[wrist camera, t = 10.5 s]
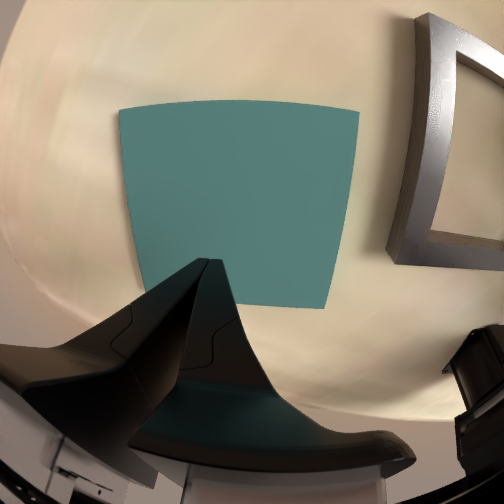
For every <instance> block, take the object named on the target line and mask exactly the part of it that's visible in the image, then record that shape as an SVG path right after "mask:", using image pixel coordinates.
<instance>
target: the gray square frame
mask: <svg viewBox="0 0 504 504" xmlns="http://www.w3.org/2000/svg"><path fill="white" fill-rule="evenodd" d="M415 33H416V75H415V94H414V106H413V117H412V126H411V134H410V141H409V148H408V154H407V160H406V166H405V171H404V177H403V182H402V187H401V191H400V196H399V201H398V205H397V209H396V213H395V217H394V221H393V225H392V229H391V233H390V236H389V240H388V243H387V247H386V251H387V252H388V254H389V256H390V257H391V259H392V261H393V262H394V264H398V265H414V266H430V267H445V268H461V269H478V270H494V271H504V242H503V241H497V240H491V239H485V238H479V237H473V236H467V235H461V234H454V233H447V232H440V231H433V230H430V228H431V225H432V221H433V218H434V214H435V211H436V207H437V203H438V200H439V196H440V192H441V187H442V183H443V178H444V174H445V169H446V164H447V158H448V153H449V147H450V140H451V133H452V125H453V116H454V105H455V90H456V60H457V61H459V62H461V63H463V64H465V65H467V66H468V67H470V68H472V69H474V70H476V71H478V72H479V73H481V74H483V75H484V76H486V77H488V78H489V79H491V80H493V81H494V82H496V83H497V84H499V85H500V86H502V87H503V88H504V55H502V54H501V53H499V52H498V51H497V50H495V49H494V48H492V47H491V46H489V45H488V44H486V43H485V42H483V41H482V40H480V39H478V38H477V37H475V36H473V35H472V34H470V33H468V32H467V31H465V30H463V29H461V28H460V27H458V26H456V25H454V24H452V23H450V22H448V21H446V20H444V19H442V18H440V17H438V16H436V15H434V14H431V13H429V12H428V13H426V14H424V15H421V16H419V17H417V18H415Z"/></svg>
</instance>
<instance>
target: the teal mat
mask: <svg viewBox="0 0 504 504" xmlns="http://www.w3.org/2000/svg"><path fill="white" fill-rule="evenodd" d="M119 122H120V138H121V151H122V162H123V171H124V179H125V187H126V195H127V202H128V208H129V214H130V220H131V226H132V232H133V237H134V242H135V247H136V252H137V257H138V261H139V266H140V270H141V274H142V279H143V283H144V287H145V291H146V292H147V291H149V290H150V289H152V288H153V287H155V286H156V285H158V284H159V283H161V282H162V281H164V280H165V279H167V278H168V277H170V276H171V275H173V274H174V273H176V272H177V271H179V270H180V269H182V268H183V267H185V266H186V265H188V264H189V263H191V262H192V261H194V260H195V259H197V258H209V259H212V258H213V259H222V260H223V262H224V266H225V269H226V273H227V276H228V280H229V283H230V286H231V290H232V293H233V297H234V300H235V303H236V304H248V305H262V306H277V307H294V308H314V309H324V307H325V304H326V300H327V296H328V292H329V288H330V284H331V280H332V276H333V272H334V267H335V263H336V259H337V254H338V249H339V245H340V240H341V235H342V230H343V225H344V220H345V214H346V209H347V203H348V197H349V191H350V185H351V178H352V172H353V165H354V157H355V149H356V141H357V132H358V123H359V112H357V111H351V110H345V109H339V108H333V107H325V106H318V105H309V104H300V103H288V102H274V101H249V100H217V101H193V102H178V103H167V104H158V105H149V106H142V107H135V108H128V109H122V110H119Z"/></svg>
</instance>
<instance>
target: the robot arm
mask: <svg viewBox="0 0 504 504" xmlns="http://www.w3.org/2000/svg"><path fill="white" fill-rule="evenodd" d="M474 332H475V333H474ZM472 333H474V334H473V335H472ZM445 370H447V371H445ZM451 372H453V374H454V377H455V379H456V382H457V384H458V387H459V390H460V392H461V395H462V398H463V401H464V404H465V407H466V410H467V411H465V412H464V413H462V414H461V415H458V416H457V417H455V418H454V419H455V433H456V445H457V459H458V461H459V462H460V464H461V466H462V468H463V469H464V470H465V473H466V477H464V478H462V479H460V480H458V481H456V482H453V483H451V484H449V485H447V486H445V487H442V488H440V489H437V490H434V491H432V492H429V493H427V494H424V495H421V496H418V497H415V498H412V499H409V500H406V501H402V502H399V503H396V504H504V325H496V326H489V327H487V328H480V329H474V330H472V331H471V332H470V333H469V335H468V336H467V338H466V339H465V341H464V342H463V344H462V345H461V347H460V348H459V349H458V351H457V352H456V353H455V355H454V356H453V358H452V359H451V360H450V362H449V363H448V364H447V365H446V367H445V368H444V369H443V370H442V374H446V373H451ZM416 459H417V458H416V456H415V454H414V452H413V450H412V449H411V448H410V447H409V445H408V444H406V443H405V442H404V441H403V440H402V439H400V438H399V437H398V436H397V435H395V434H394V433H393V432H390V431H385V430H377V431H366V432H357V433H342V432H336V431H333V430H329V429H327V428H325V427H323V426H321V425H319V424H318V423H316V422H315V421H313V420H312V419H311V418H309V417H308V416H306V415H305V414H303V413H302V412H301V411H299V410H298V409H296V408H295V407H294V406H292V405H291V404H289V403H288V402H287V401H285V400H284V399H283V398H282V397H281V396H280V395H279V394H278V393H277V391H276V390H275V389H274V387H273V386H272V384H271V382H270V381H269V379H268V377H267V375H266V373H265V372H264V370H263V368H262V366H261V364H260V363H259V361H258V359H257V357H256V355H255V354H254V352H253V350H252V348H251V346H250V343H249V341H248V339H247V337H246V334H245V331H244V329H243V326H242V323H241V319H240V316H239V313H238V310H237V307H236V303H235V300H234V297H233V293H232V290H231V286H230V283H229V280H228V276H227V273H226V269H225V266H224V262H223V260H222V259H213V258H212V259H209V258H197V259H195V260H194V261H192V262H191V263H189V264H188V265H186V266H185V267H183V268H182V269H180V270H179V271H177V272H176V273H174V274H173V275H171V276H170V277H168V278H167V279H165V280H164V281H162V282H161V283H159V284H158V285H156V286H155V287H153V288H152V289H150V290H149V291H147V292H146V293H144V294H143V295H142V296H140V297H139V298H137V299H136V300H134V301H133V302H131V303H130V305H129V304H128V305H127V306H125V307H124V308H122V309H121V310H120V311H118V312H116V313H115V314H113V315H112V316H110V317H109V318H107V319H106V320H104V321H102V322H101V323H99V324H97V325H96V326H94V327H92V328H90V329H89V330H87V331H85V332H84V333H82V334H80V335H78V336H76V337H75V338H73V339H71V340H69V341H68V342H66V343H64V344H62V345H59V346H56V347H51V348H38V347H26V346H16V345H6V344H0V504H124V500H125V497H126V493H127V489H128V485H129V482H132V483H134V484H138V485H140V486H143V487H147V488H150V489H154V486H155V482H156V479H157V475H158V472H160V473H161V474H163V475H164V476H166V477H167V478H168V479H170V480H171V481H173V482H174V483H176V484H177V485H179V486H181V487H182V488H183V493H182V498H181V503H180V504H387V495H386V483H385V479H386V478H389V477H391V476H393V475H395V474H396V473H399V472H400V471H402V470H404V469H406V468H408V467H410V466H411V465H413V464H414V463H415V462H416Z"/></svg>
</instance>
